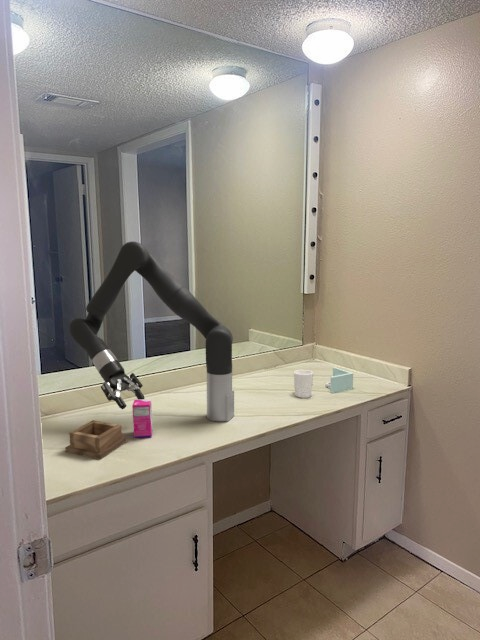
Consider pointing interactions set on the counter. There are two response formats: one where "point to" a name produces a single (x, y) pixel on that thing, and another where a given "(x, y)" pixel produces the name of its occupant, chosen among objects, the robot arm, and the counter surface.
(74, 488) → the counter surface
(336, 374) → the right angle wall
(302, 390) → the white cup
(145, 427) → the supplement box
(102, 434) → the post socket
